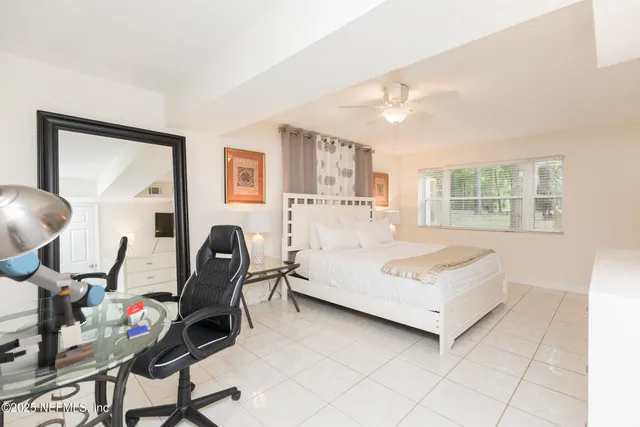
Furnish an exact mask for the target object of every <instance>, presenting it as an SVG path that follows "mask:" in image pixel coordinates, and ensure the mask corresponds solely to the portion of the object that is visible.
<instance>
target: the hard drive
mask: <svg viewBox="0 0 640 427" xmlns="http://www.w3.org/2000/svg"><path fill="white" fill-rule="evenodd" d="M147 334H150V330H149V328H148V326H147V324H144V325H140V326H136V327H132V328H129V329H127V335H128V338H129V340H131V339H134V338H139V337H140V336H145V335H147Z"/></svg>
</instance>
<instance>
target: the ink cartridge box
mask: <svg viewBox="0 0 640 427" xmlns="http://www.w3.org/2000/svg"><path fill="white" fill-rule="evenodd" d="M135 306H136V307H135ZM125 309H126V314H127V315H126V316H127V324H128V326H134V325H136V324H138V323H140V322H141V321H144V320H146V319H148V318H149V316H148V309H147V308H144V304H143V300H140V301H139V302H136V303H133V304H131V305H129V306H127V307H126V308H125ZM147 317H148V318H147Z"/></svg>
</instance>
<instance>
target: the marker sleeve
mask: <svg viewBox="0 0 640 427" xmlns="http://www.w3.org/2000/svg"><path fill="white" fill-rule="evenodd" d="M60 333H61V340H62V345H63V349H64V350H66V349H68V348H70V347H71V346H74V345H77V346H78V345H82V344H83V336H82V329H81V327H80V321H78V322H74V325H73V326H69V327H67V325H63V326H61V332H60Z"/></svg>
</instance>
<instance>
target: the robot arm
mask: <svg viewBox="0 0 640 427" xmlns="http://www.w3.org/2000/svg"><path fill="white" fill-rule="evenodd" d="M56 274H61V273H60V272H58V271H56V270H54V269H51V268H49V267H47V266H45V265H43V264H42V262H41V259H39V258H38V255H37V253H35V252H34V251H32V252H31V253H29V254H27V255H24V256H21V257H18V258H14V259H9V260H5V261H0V278H7V279H10V280H12V281H15V282H17V283H23V282H28V283H30V284H33V285H35V286H37V287H40V288H43V289H45V290H47V291H50V296H51V297H50V300H51V306H52V310H53V321H52V324H51V331H52V330H54V331H59V330H61V326H63V325H67V324H66V318H65V311H64V304H63V298H62V295H59V291H61V287H58V288H57V282H56ZM68 286H69V289H72V293H70V299H71V306H72V313H73V319H74V322H78V321H80V324H82V323H83V322H85V321H86V319H87V317H86V315H85V314H84V312H83V310H82V309H83V308H84V309H85V308H93V307H98V306H99V305H101V304H102V303H103V301H104V299H105V296H106V293H105V288H104V286H102V285H100V284H91V283H88V282H86V281H85V280H84V281H83V280H82V281H77V280H74V279H72V278H71V285H68ZM42 338H43V337H42V334H37V335H34V336H29V337H26V338H23V339H19V338H15V339H14V340H11V341H9V342H6V343H3V344H0V365H1V364H7V363H8V364H9V363H13V362H15V359H17V358H22V357H25V356H29V355H31V354H34V353H38V352H40V349H39V343H40V342H43V339H42ZM17 348H18V349H17ZM12 350H13V351H12Z"/></svg>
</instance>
